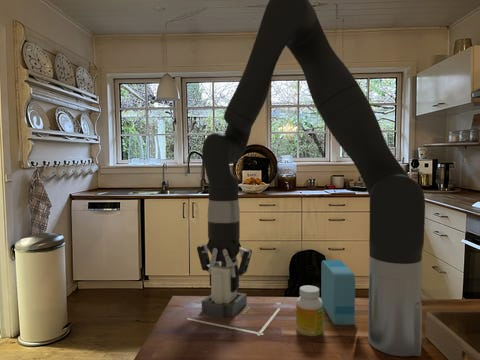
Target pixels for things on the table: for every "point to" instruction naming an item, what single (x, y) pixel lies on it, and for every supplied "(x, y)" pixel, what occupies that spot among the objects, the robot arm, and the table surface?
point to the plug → (221, 284)
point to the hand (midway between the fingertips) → (224, 289)
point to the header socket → (225, 306)
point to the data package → (338, 292)
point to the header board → (241, 329)
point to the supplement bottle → (309, 311)
